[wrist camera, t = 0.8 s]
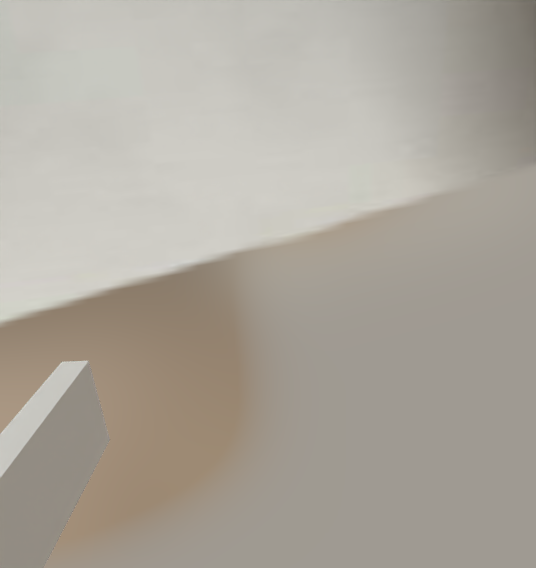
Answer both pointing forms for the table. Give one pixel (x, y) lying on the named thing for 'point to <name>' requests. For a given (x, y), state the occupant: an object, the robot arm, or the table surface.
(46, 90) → the table surface
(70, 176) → the table surface
